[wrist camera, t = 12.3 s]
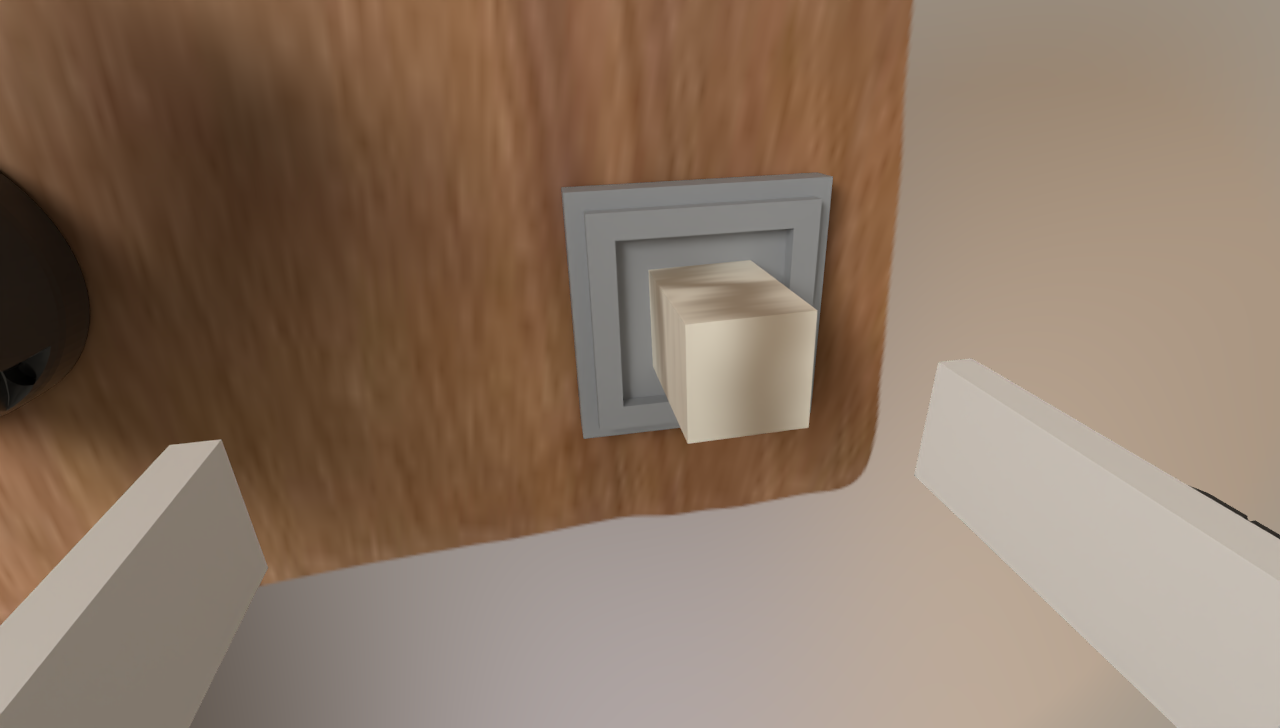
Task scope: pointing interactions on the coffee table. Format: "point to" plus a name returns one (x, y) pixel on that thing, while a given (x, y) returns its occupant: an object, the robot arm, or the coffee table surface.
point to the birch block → (731, 349)
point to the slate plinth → (665, 238)
